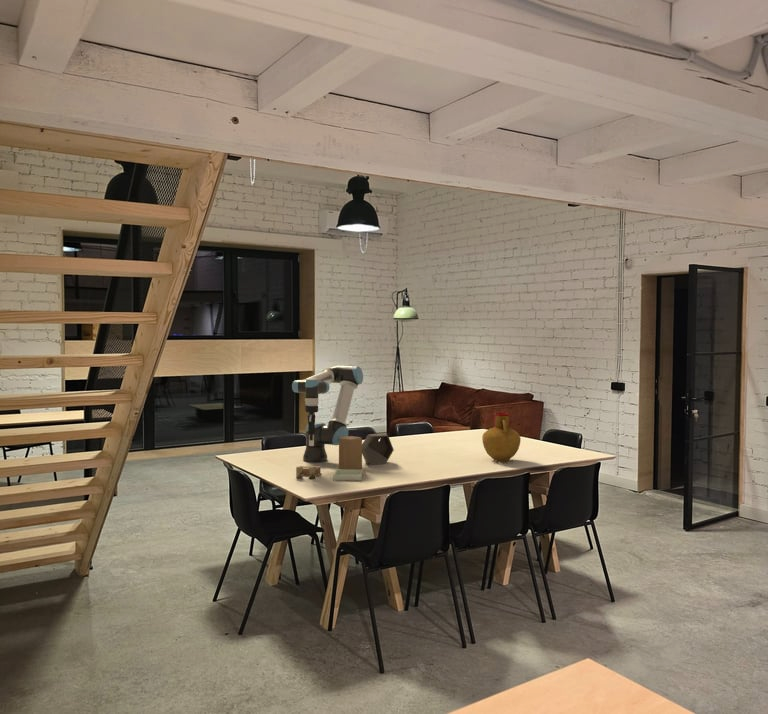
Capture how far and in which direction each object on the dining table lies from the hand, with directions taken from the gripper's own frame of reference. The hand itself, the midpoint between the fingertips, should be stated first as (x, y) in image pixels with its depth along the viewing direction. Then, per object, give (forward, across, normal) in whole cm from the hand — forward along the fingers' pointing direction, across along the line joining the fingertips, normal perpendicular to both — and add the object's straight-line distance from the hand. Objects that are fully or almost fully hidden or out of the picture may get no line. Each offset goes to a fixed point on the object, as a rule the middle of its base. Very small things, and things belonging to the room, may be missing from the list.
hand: (311, 445), depth 385 cm
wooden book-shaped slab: (+15, +11, 0) cm, 18 cm away
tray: (+14, +19, +23) cm, 33 cm away
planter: (+14, -23, +37) cm, 46 cm away
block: (+14, +4, +23) cm, 28 cm away
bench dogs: (+14, +22, 0) cm, 26 cm away
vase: (+14, -37, +115) cm, 122 cm away
